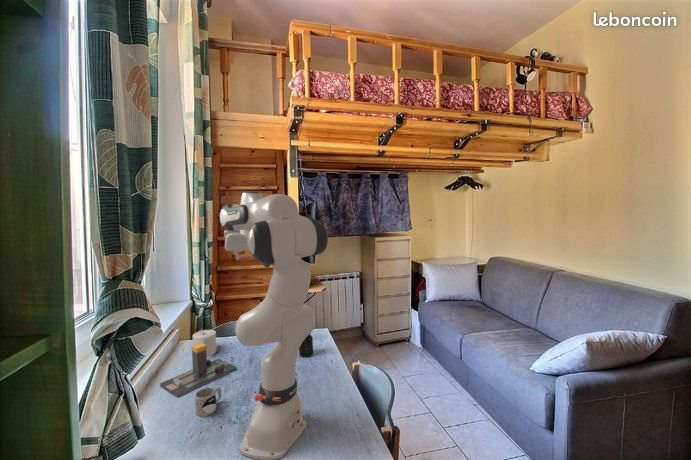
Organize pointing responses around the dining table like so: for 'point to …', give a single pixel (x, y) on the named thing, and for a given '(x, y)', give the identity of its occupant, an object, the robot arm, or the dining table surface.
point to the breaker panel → (197, 378)
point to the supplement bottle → (306, 347)
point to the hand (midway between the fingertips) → (249, 259)
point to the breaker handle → (199, 359)
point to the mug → (206, 401)
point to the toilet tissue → (206, 340)
